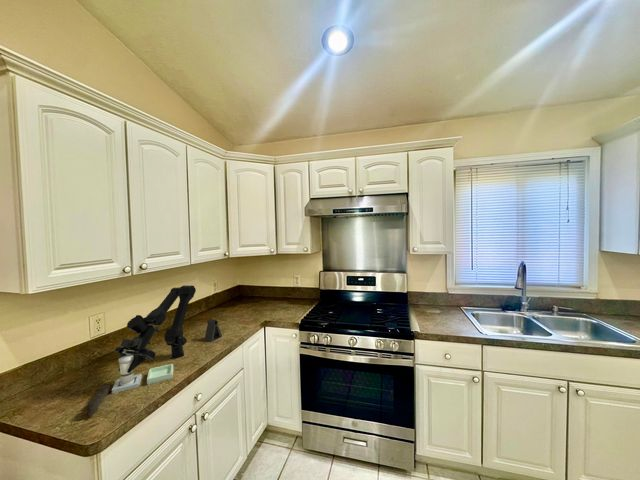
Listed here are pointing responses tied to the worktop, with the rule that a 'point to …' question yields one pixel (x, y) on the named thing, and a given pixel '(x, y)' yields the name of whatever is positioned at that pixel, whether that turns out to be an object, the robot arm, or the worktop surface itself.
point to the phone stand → (212, 331)
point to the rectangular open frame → (126, 387)
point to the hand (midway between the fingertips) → (123, 372)
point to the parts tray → (160, 374)
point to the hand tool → (98, 399)
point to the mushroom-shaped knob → (124, 366)
